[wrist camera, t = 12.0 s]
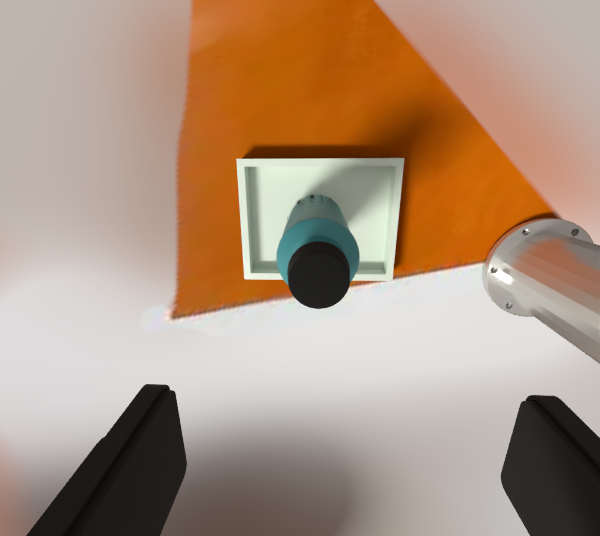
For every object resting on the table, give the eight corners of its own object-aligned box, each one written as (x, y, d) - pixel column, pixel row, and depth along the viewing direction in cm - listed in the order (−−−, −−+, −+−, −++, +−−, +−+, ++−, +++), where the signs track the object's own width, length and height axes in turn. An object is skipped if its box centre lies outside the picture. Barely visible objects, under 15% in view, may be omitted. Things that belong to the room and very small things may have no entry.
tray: (398, 158, 36) (404, 158, 34) (387, 273, 41) (392, 280, 38) (241, 158, 37) (236, 158, 34) (248, 272, 41) (244, 279, 39)
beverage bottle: (316, 179, 36) (317, 203, 18) (355, 219, 38) (395, 282, 19) (277, 219, 38) (241, 280, 19) (316, 256, 40) (318, 347, 21)
